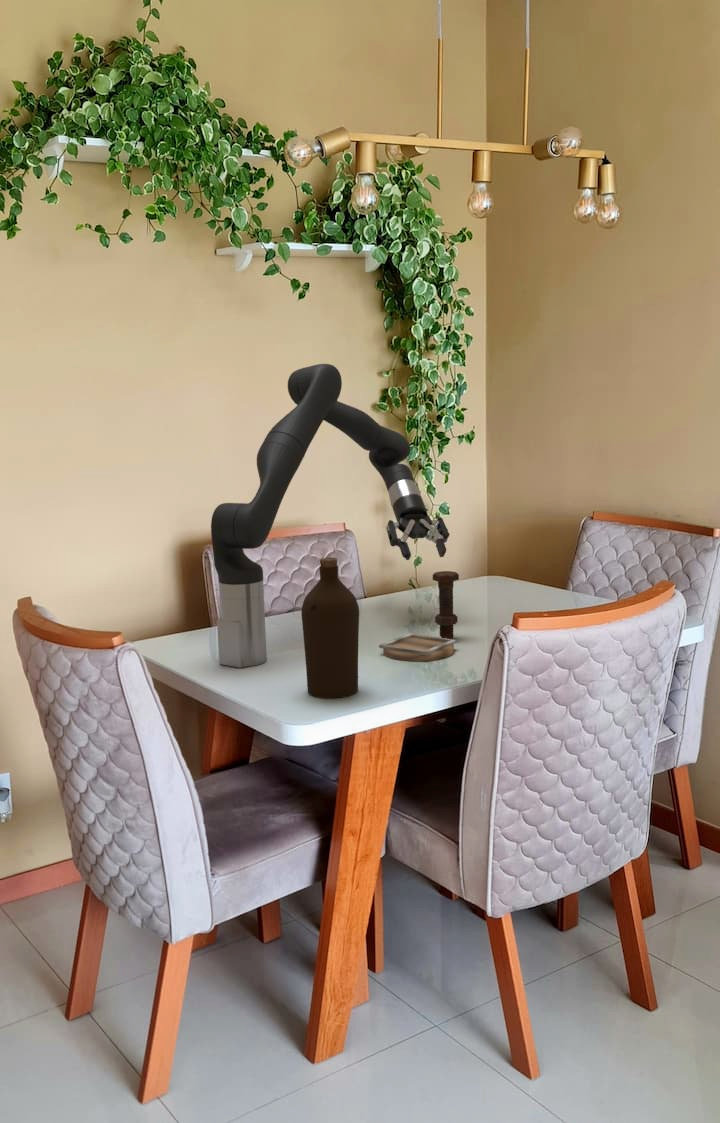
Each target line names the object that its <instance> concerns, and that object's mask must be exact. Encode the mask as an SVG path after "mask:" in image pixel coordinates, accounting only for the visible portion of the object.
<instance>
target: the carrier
mask: <svg viewBox="0 0 720 1123" xmlns="http://www.w3.org/2000/svg"><path fill="white" fill-rule="evenodd" d="M457 643H458V640H457V639H453V638H452V639H447V638H446V637H445V638H441V637H438V636H431V635H423V634H418V633H408V634H406V635H403V636H400V637H398V638H394V639H391V640H389V641H386V642H384V643H381V644H378V648H380V649H382V651H383V655H384V656H385V657H387V658H389V659H392V660H397V661H403V662H430V661H438V660H443V659H447V658H448V657H451V656H453V654H455V648H454V647H455V645H456V644H457Z"/></svg>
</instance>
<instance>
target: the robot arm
mask: <svg viewBox="0 0 720 1123" xmlns="http://www.w3.org/2000/svg"><path fill="white" fill-rule="evenodd" d="M342 386H343V382H342V375H341V372H340V371H339V370H338V368H337V367H336V366H334V365H333V364H330V363H319V364H318V363H317V364H314V365H311V366H310V365H309V366H306V367H302V368H298V369H296V370H295V371H293V372H292V373H291V374H289V378H288V379H287V392H288V394H289V395H288V396H290V398H291V400H292V401H293V402H294V404H295V405H296V406H295V407H294V408H293V409H292V410H291V411H289V412H288V413H287V414H285V415H284V417H282V418H281V419H280V420H279V421H278V422H277V423H275V425H273V427H272V428H270V430H269V431H268V433H267V434H266V436H265V438H264V440H263V442H262V444H261V445H260V447H259V449H258V452H257V455H256V468H257V473H258V477H259V486H258V490H257V491H256V494H255V496H254V497H253V499H252V500H251V501H250V502H248V503H243V502H239V503H238V502H223V503H220V504H218V505H217V507H215V508H214V510H213V513H212V516H211V521H210V534H211V544H212V553H213V554H212V555H213V564H214V568H215V570H216V573H217V580H218V594H219V596H218V598H219V599H218V600H219V612H220V613H219V615H220V616H219V617H220V618H217V620H216V624H217V626H216V628H217V644H218V645H217V646H218V647H217V648H218V661H219V662H218V663H219V665H224V666H229V667H234V668H238V669H240V668H245V667H253V666H258V665H261V664H264V663H266V662H267V660H268V657H267V656H268V655H267V635H266V634H267V632H266V612H265V611H266V609H265V607H266V606H265V590H264V589H265V588H264V569H263V567H262V566H261V564H259V563H257V562H255V561H253V560H251V559H250V558H249V557H248V556H247V555H246V554H245V552H244V549H246V550H247V549H249V550H251V549H258V548H259V547H261V546H262V545H264V543H265V542H266V540H267V538H268V536H269V535H270V532H271V530H272V527H273V525H274V522H275V519H276V517H277V515H278V511H279V509H280V506H281V504H282V501H283V499H284V496H285V494H286V492H287V490H288V488H289V486H290V485H291V482H292V480H293V478H294V476H295V475H296V473H297V471H298V469H299V467H300V465H301V463H302V461H303V460H304V458H305V455H306V452H307V451H308V449H309V447H310V445H311V443H312V442H313V439H314V437H315V436H316V434H317V432H318V430H319V429H320V427H321V425H322V424H323V422H324V421H325V422H326V423H328V424H329V425H331V426H333V427H334V428H336V429H338V430H339V431H340V432H342V433H343V434H344V435H346V436H347V437H348V438H350V439H351V440H352V441H353V442H354V443H356V444H357V445H358V446H359V447H360V448H362V449H363V450H365V451H369V452H368V459H369V462H370V464H372V466H373V467H374V468H375V470H376V471H377V472H378V474H380V477H381V478H382V480H383V482H384V483H385V487H386V490H387V492H388V498H389V502H390V506H391V508H392V510H393V514H394V516H395V519H396V522H394V521H393V520H392V519H391V520H390V519H389V520H388V522H387V524H386V533H387V537H388V541H389V545H390V546H391V547H398V548H399V550H400V552H401V556H402V558H404V559H405V560H406V561H408V560H410V559H411V557H412V552H411V550H410V547H409V544H408V541H407V540H408V539H410V538H411V540H415V539H424V538H425V539H426V540H428V541H429V542H430V541H431V542H432V543H434V544H435V548H436V551H437V552H438V557H439V558H444V557H445V554H446V552H447V547H446V543H447V541H448V539H449V537H450V533H449V531H448V528H447V526H446V524H445V521H444V519H443V517H441V516H438V517H437V519H431V518H430V517H429V515H428V510H427V507H426V505H425V502H424V499H423V497H422V495H421V491H420V490H419V487H418V486H417V484H416V481H415V478H414V476H413V472H412V470H411V468H410V467H409V466H408V465H407V464H404V463H401V462H403V461H404V460H406V459H408V457H409V456H410V454H411V450H412V449H411V444H410V443H409V440H407V438H406V437H405V436H404V435H402V434H401V433H399V432H398V431H395V430H392V429H390V428H387V427H386V426H383V425H381V424H379V423H378V422H377V421H376V420H375V419H374V418H373V417H372V416H370V415H369V414H368V413H366V412H364V411H363V410H361V409H359V408H357V407H354V406H351V405H349V404H346V403H343V402H341V401H339V400H338V399H339V397H340V396H341V391H342V388H343V387H342ZM397 529H398V531H400V532H402V535H401V537H400V538H398V535H397ZM429 532H430V533H429Z"/></svg>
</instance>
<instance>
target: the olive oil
mask: <svg viewBox="0 0 720 1123" xmlns="http://www.w3.org/2000/svg"><path fill="white" fill-rule="evenodd" d="M319 563H320V566H319V580H318V582H316V584H315V585H314V586H313V588H312V589H311V590H310V591H309V592H308V593H307V595H306V596H305V597H304V599H303V602H302V605H301V614H300V615H301V624H302V625H301V626H302V632H303V633H302V634H303V646H304V658H305V669H306V671H305V672H306V686H307V688H306V689H307V692H308V693H307V694H309V695H310V696H312V697H316V698H321V699H322V698H323V699H337V698H338V699H339V698H346V697H350V696H352V695H354V694H356V693H358V691H359V631H360V630H359V629H360V608H359V603H358V600H357V598H356V596H355V595H354V593H352V591H351V590H350V589H349V588H348V587H347V586H346V585H345V584H344V583H343V582H342V581H341V580H340V578H339V565H338V558H336V557H322V558H320V559H319Z"/></svg>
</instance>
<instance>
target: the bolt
mask: <svg viewBox="0 0 720 1123" xmlns="http://www.w3.org/2000/svg"><path fill="white" fill-rule="evenodd" d="M459 580H460V574H459V573H458V572H456V571H449V570H443V571H436V572H433V574H432V581H435V582H437V587H438V610H439V611H438V614H436V615H435V616H434V622H435V623H436V625H438V626H439V629H438V630H439V636H440V638H446V639H453V638H454V634H455V633H454V625H456V624H457V623H458V616H457V615H456V614H455V613H454V582H456V581H459Z"/></svg>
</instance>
